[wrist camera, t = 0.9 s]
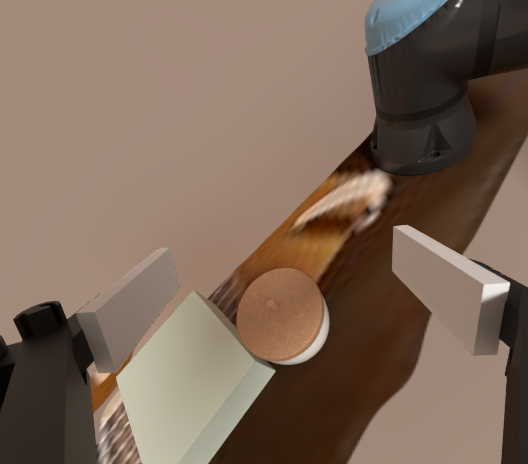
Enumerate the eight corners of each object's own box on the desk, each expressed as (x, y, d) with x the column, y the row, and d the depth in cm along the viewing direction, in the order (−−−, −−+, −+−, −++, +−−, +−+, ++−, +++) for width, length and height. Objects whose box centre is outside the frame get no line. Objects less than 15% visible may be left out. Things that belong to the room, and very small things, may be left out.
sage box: (215, 304, 44) (193, 289, 40) (276, 371, 33) (255, 361, 29) (147, 384, 41) (116, 377, 36) (190, 489, 30) (152, 496, 25)
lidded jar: (316, 393, 29) (284, 379, 23) (250, 346, 36) (212, 325, 30) (352, 310, 33) (334, 277, 26) (286, 282, 40) (259, 250, 33)
